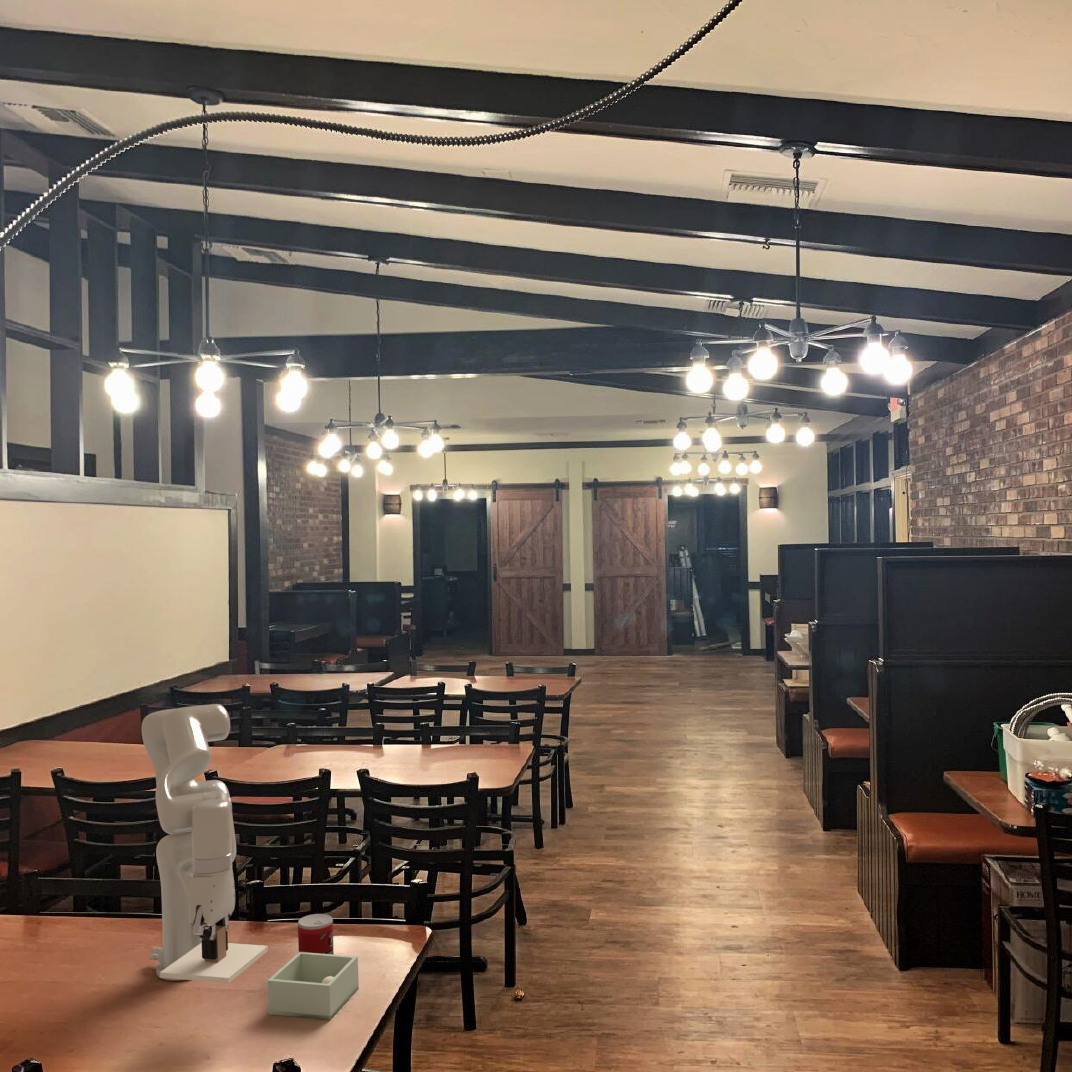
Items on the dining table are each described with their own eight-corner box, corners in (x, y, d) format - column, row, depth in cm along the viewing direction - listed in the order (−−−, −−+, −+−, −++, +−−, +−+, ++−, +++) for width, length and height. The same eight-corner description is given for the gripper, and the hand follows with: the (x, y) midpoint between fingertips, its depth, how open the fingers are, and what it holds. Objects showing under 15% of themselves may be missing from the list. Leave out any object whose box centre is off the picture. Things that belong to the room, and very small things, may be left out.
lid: (160, 977, 187) (159, 941, 187) (203, 946, 202) (202, 912, 202) (228, 983, 184) (227, 946, 184) (268, 950, 198) (267, 916, 198)
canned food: (325, 976, 216) (324, 927, 216) (293, 974, 218) (291, 925, 218) (339, 961, 223) (338, 914, 224) (307, 959, 225) (306, 912, 225)
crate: (268, 1014, 199) (267, 980, 199) (300, 983, 213) (299, 951, 213) (330, 1020, 196) (329, 985, 196) (358, 988, 209) (357, 956, 209)
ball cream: (318, 997, 204) (317, 980, 204) (325, 989, 208) (325, 972, 208) (333, 998, 203) (333, 981, 203) (340, 990, 207) (340, 974, 207)
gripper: (218, 849, 202) (220, 937, 202) (171, 875, 186) (174, 971, 186) (250, 851, 200) (253, 939, 200) (206, 877, 184) (208, 973, 184)
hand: (215, 953), depth 193 cm, fingers closed on lid, 3 cm apart
